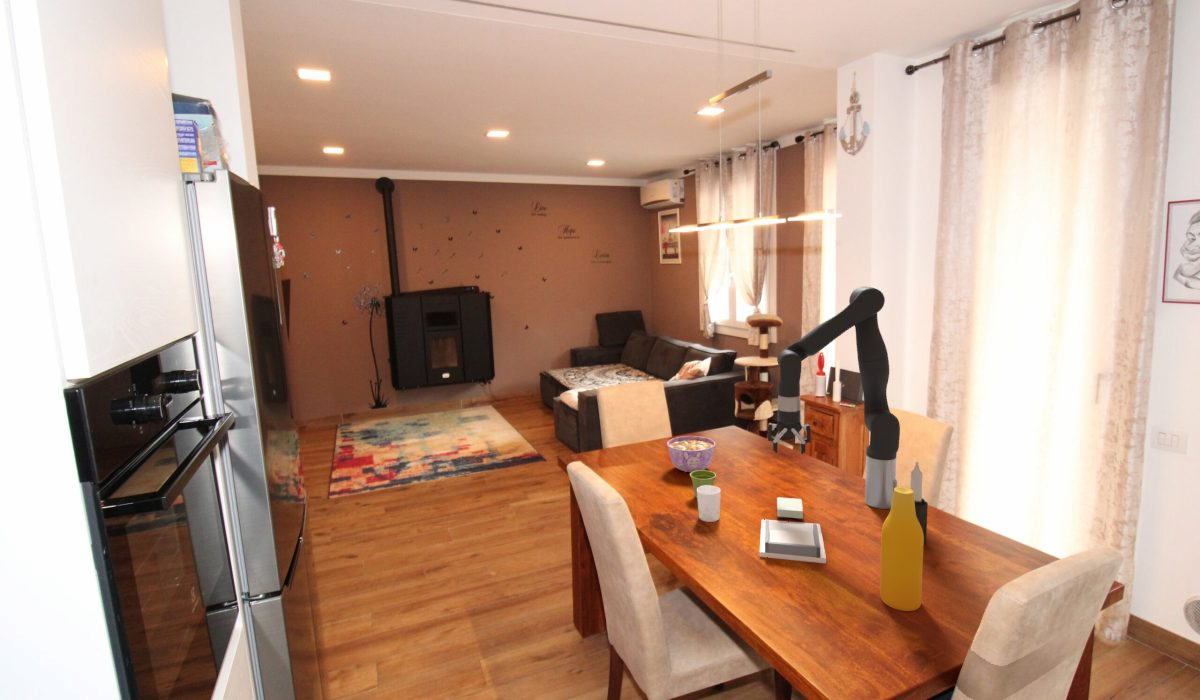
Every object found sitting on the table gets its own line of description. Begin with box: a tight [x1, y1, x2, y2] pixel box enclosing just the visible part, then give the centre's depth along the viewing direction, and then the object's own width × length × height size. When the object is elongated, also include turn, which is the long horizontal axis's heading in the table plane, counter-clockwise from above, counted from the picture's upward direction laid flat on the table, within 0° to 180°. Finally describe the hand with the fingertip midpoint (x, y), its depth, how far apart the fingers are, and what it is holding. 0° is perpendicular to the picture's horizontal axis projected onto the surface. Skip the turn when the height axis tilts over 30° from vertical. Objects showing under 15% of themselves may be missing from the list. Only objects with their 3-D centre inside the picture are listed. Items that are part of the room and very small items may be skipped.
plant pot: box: [689, 469, 717, 499], centre depth 208 cm, size 9×9×9 cm
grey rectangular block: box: [776, 496, 804, 521], centre depth 191 cm, size 8×10×4 cm
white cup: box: [696, 485, 722, 523], centre depth 191 cm, size 8×8×10 cm
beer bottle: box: [879, 486, 925, 612], centre depth 139 cm, size 9×9×29 cm
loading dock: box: [759, 518, 827, 564], centre depth 174 cm, size 18×25×6 cm
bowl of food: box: [666, 435, 716, 473], centre depth 236 cm, size 20×20×12 cm
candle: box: [909, 461, 929, 546], centre depth 167 cm, size 5×5×25 cm
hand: (788, 453), depth 198 cm, fingers open, 8 cm apart
